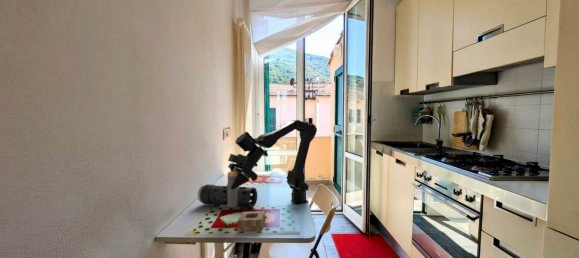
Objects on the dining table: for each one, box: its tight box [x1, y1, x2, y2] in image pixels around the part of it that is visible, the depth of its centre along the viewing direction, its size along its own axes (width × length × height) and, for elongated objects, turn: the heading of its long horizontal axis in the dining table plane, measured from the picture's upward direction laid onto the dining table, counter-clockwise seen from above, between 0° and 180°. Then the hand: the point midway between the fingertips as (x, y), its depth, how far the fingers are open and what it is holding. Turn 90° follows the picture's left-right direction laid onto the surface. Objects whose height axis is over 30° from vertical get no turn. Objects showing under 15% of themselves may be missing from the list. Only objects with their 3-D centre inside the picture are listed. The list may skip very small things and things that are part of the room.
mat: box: [219, 212, 242, 226], centre depth 110 cm, size 9×9×1 cm
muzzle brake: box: [197, 184, 258, 210], centre depth 126 cm, size 10×28×10 cm, turn 71°
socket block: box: [237, 210, 266, 232], centre depth 102 cm, size 9×9×4 cm
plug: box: [227, 171, 238, 208], centre depth 109 cm, size 4×4×14 cm
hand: (229, 188), depth 108 cm, fingers closed on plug, 4 cm apart
